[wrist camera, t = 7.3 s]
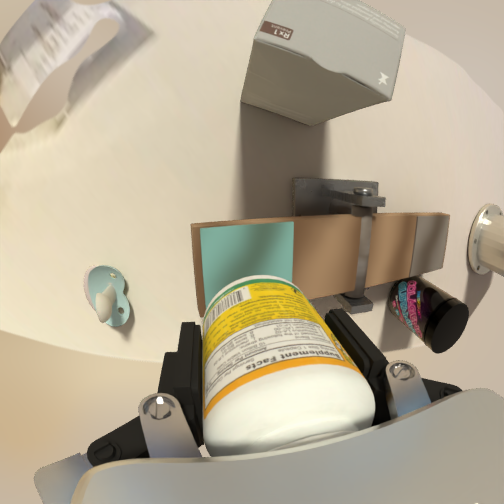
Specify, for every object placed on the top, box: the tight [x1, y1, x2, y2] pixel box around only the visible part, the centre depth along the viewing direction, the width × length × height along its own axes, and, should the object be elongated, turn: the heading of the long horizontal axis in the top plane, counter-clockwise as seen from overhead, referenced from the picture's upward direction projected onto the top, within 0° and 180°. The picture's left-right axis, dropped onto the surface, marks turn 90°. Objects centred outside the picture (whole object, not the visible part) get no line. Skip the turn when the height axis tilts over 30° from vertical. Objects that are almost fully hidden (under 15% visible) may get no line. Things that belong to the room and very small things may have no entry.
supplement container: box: [389, 275, 469, 353], centre depth 29 cm, size 7×7×10 cm
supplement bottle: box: [202, 275, 375, 457], centre depth 9 cm, size 5×5×10 cm
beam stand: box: [292, 178, 386, 314], centre depth 26 cm, size 10×13×8 cm
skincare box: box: [241, 0, 405, 126], centre depth 17 cm, size 8×7×16 cm
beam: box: [191, 205, 450, 317], centre depth 25 cm, size 30×9×2 cm, turn 91°
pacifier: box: [84, 265, 130, 327], centre depth 26 cm, size 7×6×6 cm
